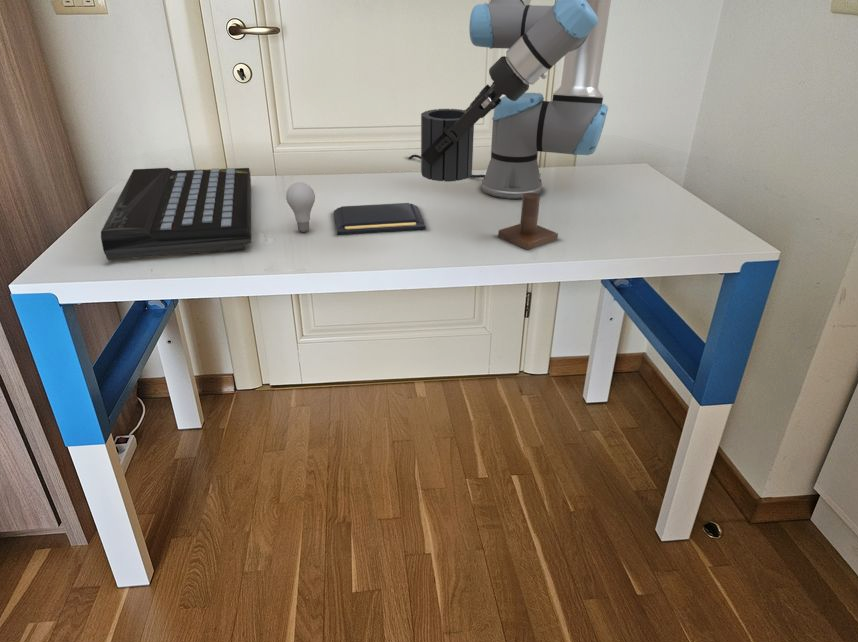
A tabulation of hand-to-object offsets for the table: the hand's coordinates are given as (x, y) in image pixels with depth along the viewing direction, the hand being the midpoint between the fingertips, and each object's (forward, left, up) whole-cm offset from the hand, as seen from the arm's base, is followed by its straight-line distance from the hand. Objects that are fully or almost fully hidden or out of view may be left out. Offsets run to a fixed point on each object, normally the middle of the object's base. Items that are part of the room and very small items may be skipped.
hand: (432, 152), depth 129 cm
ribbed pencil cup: (+2, +2, -4) cm, 5 cm away
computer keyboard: (-43, -37, -19) cm, 60 cm away
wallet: (-17, -2, -19) cm, 25 cm away
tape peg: (+11, +18, -19) cm, 28 cm away
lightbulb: (-21, -19, -19) cm, 34 cm away
